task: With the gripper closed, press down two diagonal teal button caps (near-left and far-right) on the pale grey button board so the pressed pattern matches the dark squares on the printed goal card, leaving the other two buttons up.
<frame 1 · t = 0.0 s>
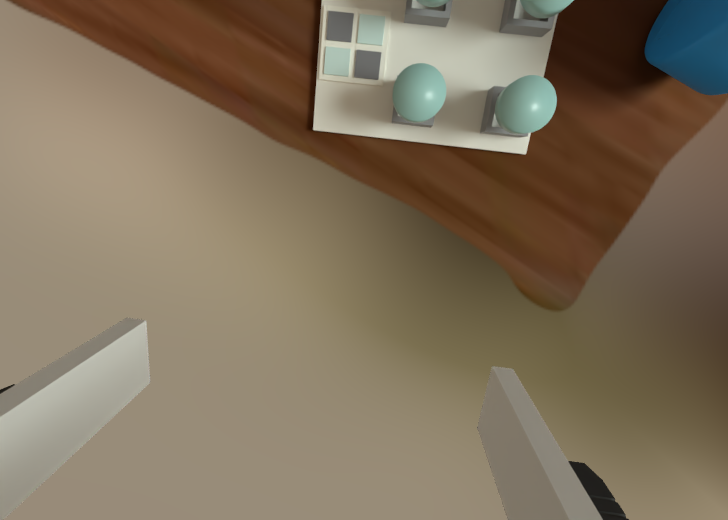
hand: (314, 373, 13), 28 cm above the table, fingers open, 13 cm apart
button 4: (520, 107, 31), point 5 cm above the table, slide at 0.0 cm
board: (430, 57, 35), on the table
alarm clock: (683, 25, 33), on the table
button 2: (417, 96, 31), point 5 cm above the table, slide at 0.0 cm
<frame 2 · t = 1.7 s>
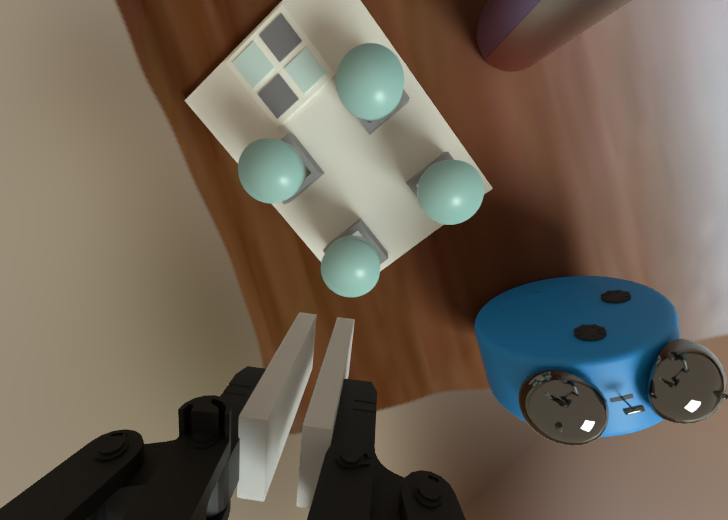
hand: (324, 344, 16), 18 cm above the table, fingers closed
button 4: (352, 262, 28), point 5 cm above the table, slide at 0.0 cm
board: (340, 145, 31), on the table
alarm clock: (533, 307, 34), on the table
button 2: (277, 170, 27), point 5 cm above the table, slide at 0.0 cm
beverage can: (512, 32, 28), on the table
button 3: (446, 190, 26), point 5 cm above the table, slide at 0.0 cm
button 1: (371, 87, 25), point 5 cm above the table, slide at 0.0 cm
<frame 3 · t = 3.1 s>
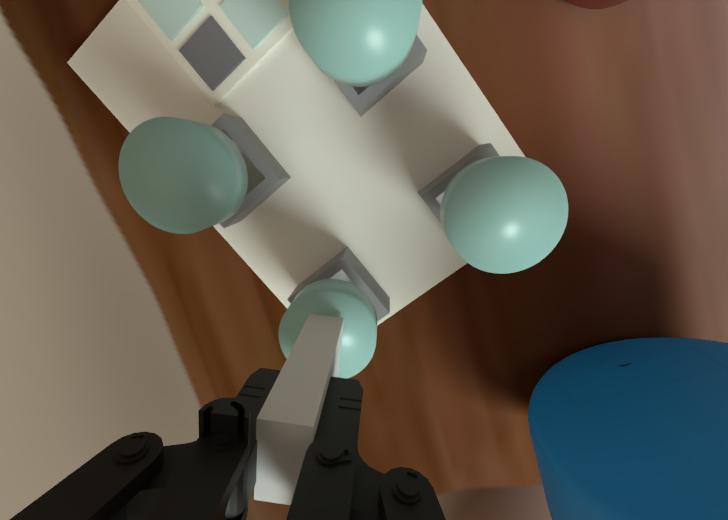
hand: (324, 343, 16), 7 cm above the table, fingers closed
button 4: (333, 319, 18), point 5 cm above the table, slide at 0.7 cm, touching gripper
board: (315, 133, 20), on the table
alarm clock: (605, 376, 23), on the table
button 2: (200, 175, 16), point 5 cm above the table, slide at 0.0 cm
button 3: (491, 210, 15), point 5 cm above the table, slide at 0.0 cm
button 1: (359, 24, 14), point 5 cm above the table, slide at 0.0 cm
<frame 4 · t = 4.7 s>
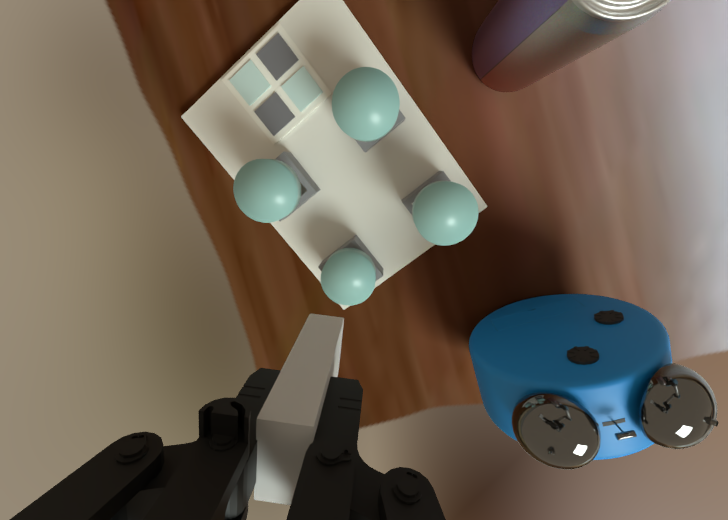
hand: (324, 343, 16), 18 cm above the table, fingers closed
button 4: (350, 272, 30), point 3 cm above the table, slide at 2.1 cm
board: (336, 162, 31), on the table
alarm clock: (527, 323, 34), on the table
button 2: (273, 189, 27), point 5 cm above the table, slide at 0.0 cm
beverage can: (507, 53, 28), on the table
button 3: (441, 210, 26), point 5 cm above the table, slide at 0.0 cm
button 1: (367, 109, 25), point 5 cm above the table, slide at 0.0 cm
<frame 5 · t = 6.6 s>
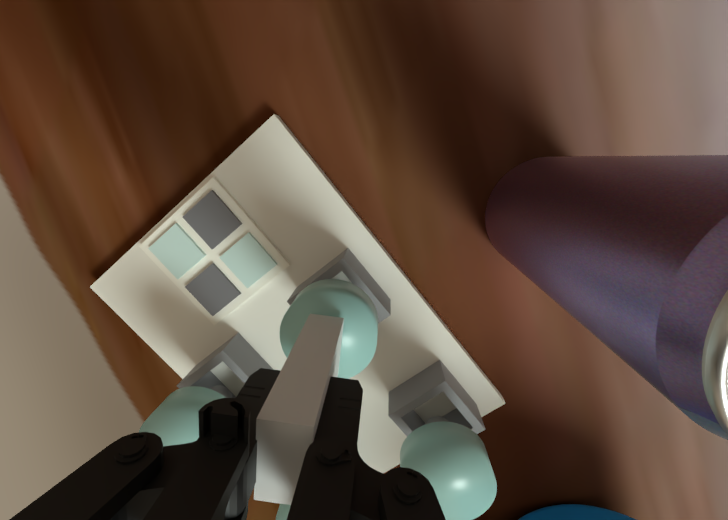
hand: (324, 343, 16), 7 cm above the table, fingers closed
button 4: (319, 494, 22), point 3 cm above the table, slide at 2.1 cm
board: (301, 339, 23), on the table
button 2: (203, 419, 19), point 5 cm above the table, slide at 0.0 cm
beverage can: (534, 211, 20), on the table
button 3: (442, 454, 18), point 5 cm above the table, slide at 0.0 cm
button 1: (334, 319, 18), point 4 cm above the table, slide at 0.9 cm, touching gripper
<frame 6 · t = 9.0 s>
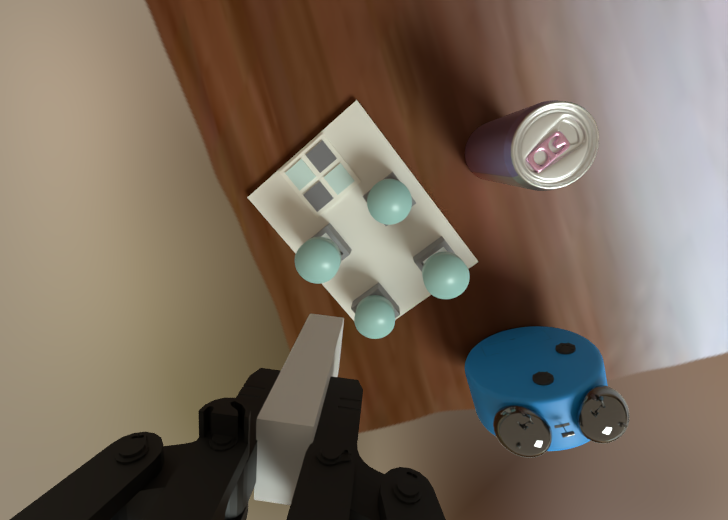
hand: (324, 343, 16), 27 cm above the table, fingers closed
button 4: (375, 312, 40), point 3 cm above the table, slide at 2.1 cm
board: (363, 228, 41), on the table
alarm clock: (511, 347, 44), on the table
button 2: (320, 256, 37), point 5 cm above the table, slide at 0.0 cm
beverage can: (491, 151, 38), on the table
button 3: (443, 271, 36), point 5 cm above the table, slide at 0.0 cm
button 1: (389, 200, 37), point 3 cm above the table, slide at 2.1 cm
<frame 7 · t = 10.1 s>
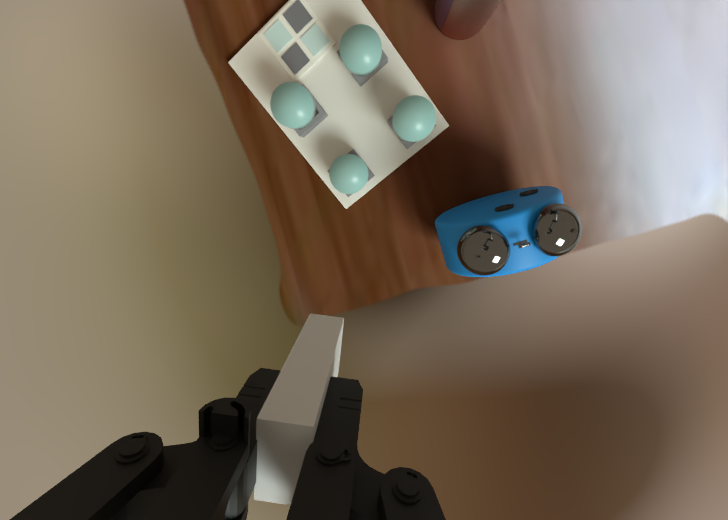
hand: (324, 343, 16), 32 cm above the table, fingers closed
button 4: (350, 173, 42), point 3 cm above the table, slide at 2.1 cm
board: (339, 95, 43), on the table
alarm clock: (482, 218, 46), on the table
button 2: (296, 107, 39), point 5 cm above the table, slide at 0.0 cm
beverage can: (460, 12, 40), on the table
button 3: (412, 120, 38), point 5 cm above the table, slide at 0.0 cm
button 1: (361, 53, 39), point 3 cm above the table, slide at 2.1 cm
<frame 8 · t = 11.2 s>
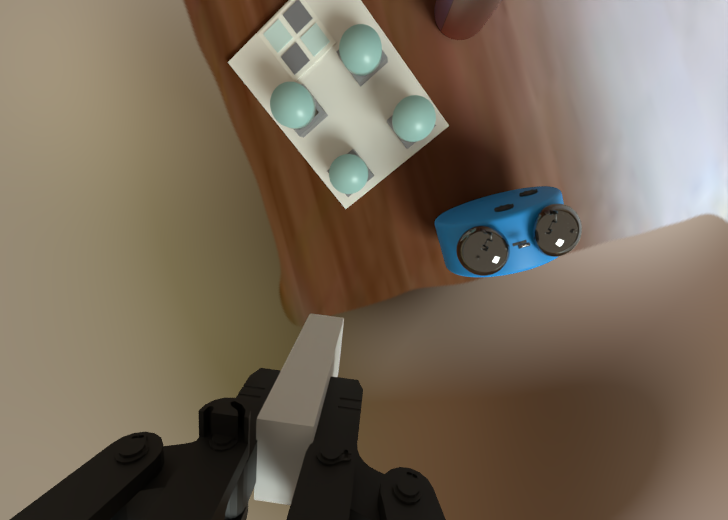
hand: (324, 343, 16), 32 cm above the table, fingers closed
button 4: (350, 173, 42), point 3 cm above the table, slide at 2.1 cm
board: (339, 95, 43), on the table
alarm clock: (482, 218, 46), on the table
button 2: (295, 107, 39), point 5 cm above the table, slide at 0.0 cm
beverage can: (460, 12, 40), on the table
button 3: (412, 120, 38), point 5 cm above the table, slide at 0.0 cm
button 1: (361, 53, 39), point 3 cm above the table, slide at 2.1 cm
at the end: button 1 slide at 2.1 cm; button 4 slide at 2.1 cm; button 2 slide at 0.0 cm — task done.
